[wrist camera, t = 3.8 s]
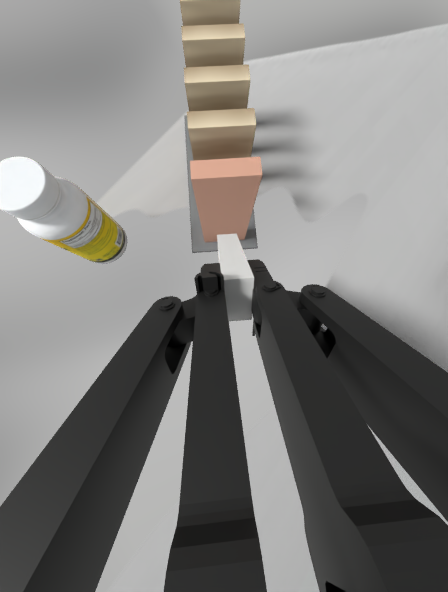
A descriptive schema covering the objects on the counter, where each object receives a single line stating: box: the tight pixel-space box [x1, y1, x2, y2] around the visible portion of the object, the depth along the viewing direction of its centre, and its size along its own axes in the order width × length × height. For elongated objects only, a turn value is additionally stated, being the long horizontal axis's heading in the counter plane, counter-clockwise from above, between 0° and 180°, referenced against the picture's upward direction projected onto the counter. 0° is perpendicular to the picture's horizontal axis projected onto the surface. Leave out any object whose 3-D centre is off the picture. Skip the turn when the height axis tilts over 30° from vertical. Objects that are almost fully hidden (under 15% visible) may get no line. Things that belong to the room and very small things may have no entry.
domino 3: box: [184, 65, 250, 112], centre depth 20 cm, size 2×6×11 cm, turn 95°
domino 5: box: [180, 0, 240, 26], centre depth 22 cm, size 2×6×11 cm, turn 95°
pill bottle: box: [0, 157, 127, 264], centre depth 19 cm, size 6×6×11 cm
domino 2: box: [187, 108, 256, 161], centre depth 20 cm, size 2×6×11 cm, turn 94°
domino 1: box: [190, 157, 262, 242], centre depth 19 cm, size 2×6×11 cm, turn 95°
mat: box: [185, 116, 258, 253], centre depth 26 cm, size 22×9×1 cm, turn 5°
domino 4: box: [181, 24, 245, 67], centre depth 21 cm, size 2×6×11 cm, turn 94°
